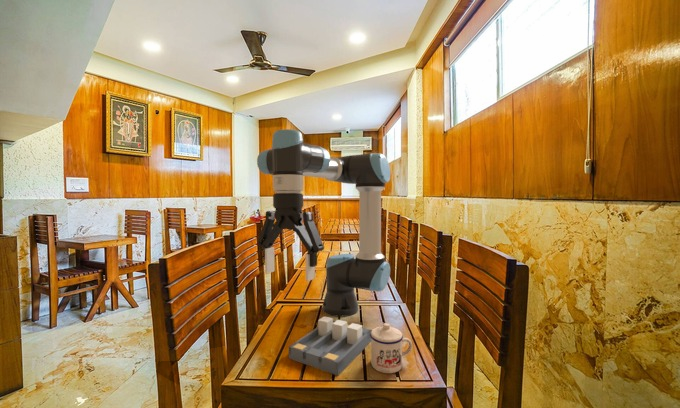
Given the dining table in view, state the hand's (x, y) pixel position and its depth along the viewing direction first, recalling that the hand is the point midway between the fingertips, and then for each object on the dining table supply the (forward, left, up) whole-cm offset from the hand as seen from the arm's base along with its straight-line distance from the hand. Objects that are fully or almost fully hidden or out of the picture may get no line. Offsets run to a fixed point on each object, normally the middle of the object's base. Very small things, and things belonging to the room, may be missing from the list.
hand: (289, 275), depth 74 cm
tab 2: (-24, +1, -26) cm, 35 cm away
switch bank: (-20, +1, -28) cm, 34 cm away
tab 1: (-24, -5, -26) cm, 36 cm away
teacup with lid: (-21, +20, -28) cm, 40 cm away
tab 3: (-24, +6, -26) cm, 36 cm away
